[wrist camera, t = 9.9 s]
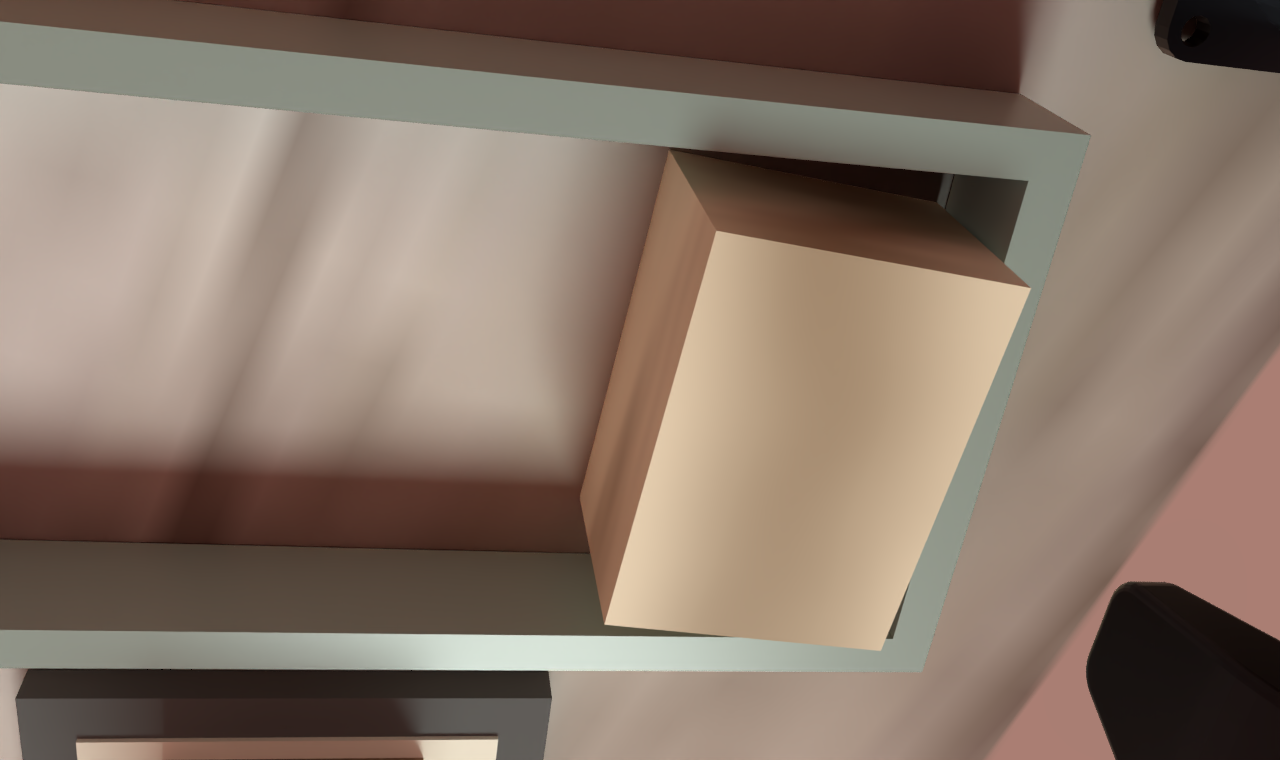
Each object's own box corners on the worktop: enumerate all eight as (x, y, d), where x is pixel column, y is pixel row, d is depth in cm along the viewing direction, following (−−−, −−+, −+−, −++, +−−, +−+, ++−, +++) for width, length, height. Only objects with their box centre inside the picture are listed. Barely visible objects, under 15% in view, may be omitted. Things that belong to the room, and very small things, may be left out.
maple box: (933, 199, 21) (1031, 287, 18) (816, 520, 24) (880, 651, 21) (667, 146, 20) (715, 230, 17) (578, 491, 23) (604, 624, 20)
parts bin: (1020, 93, 20) (1090, 135, 18) (879, 591, 25) (922, 672, 23) (-440, -68, 16) (-576, -39, 14) (-281, 570, 21) (-363, 666, 19)
